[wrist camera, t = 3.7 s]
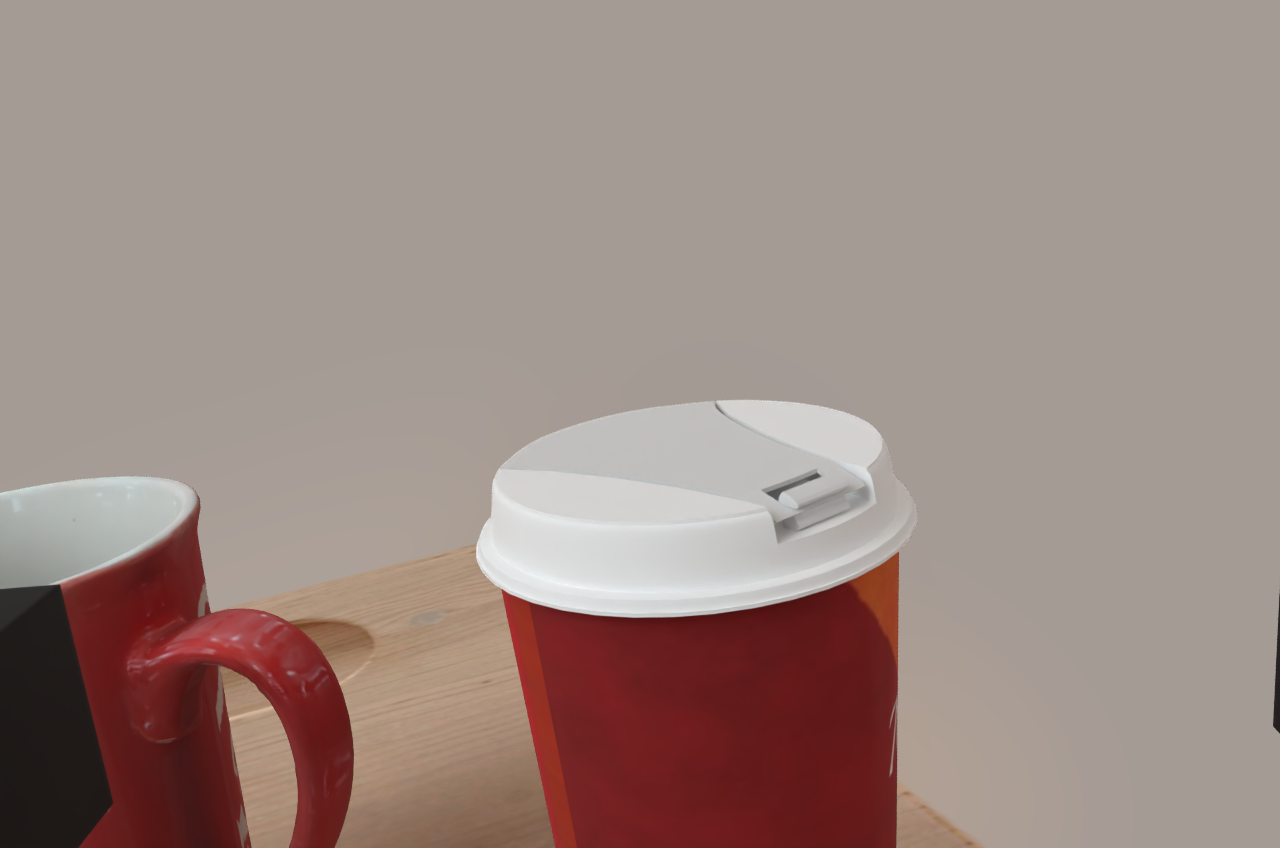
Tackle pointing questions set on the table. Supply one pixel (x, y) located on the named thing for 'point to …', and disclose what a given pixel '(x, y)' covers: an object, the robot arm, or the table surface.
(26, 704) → the robot arm
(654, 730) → the coffee cup
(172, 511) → the mug
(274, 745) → the table surface
